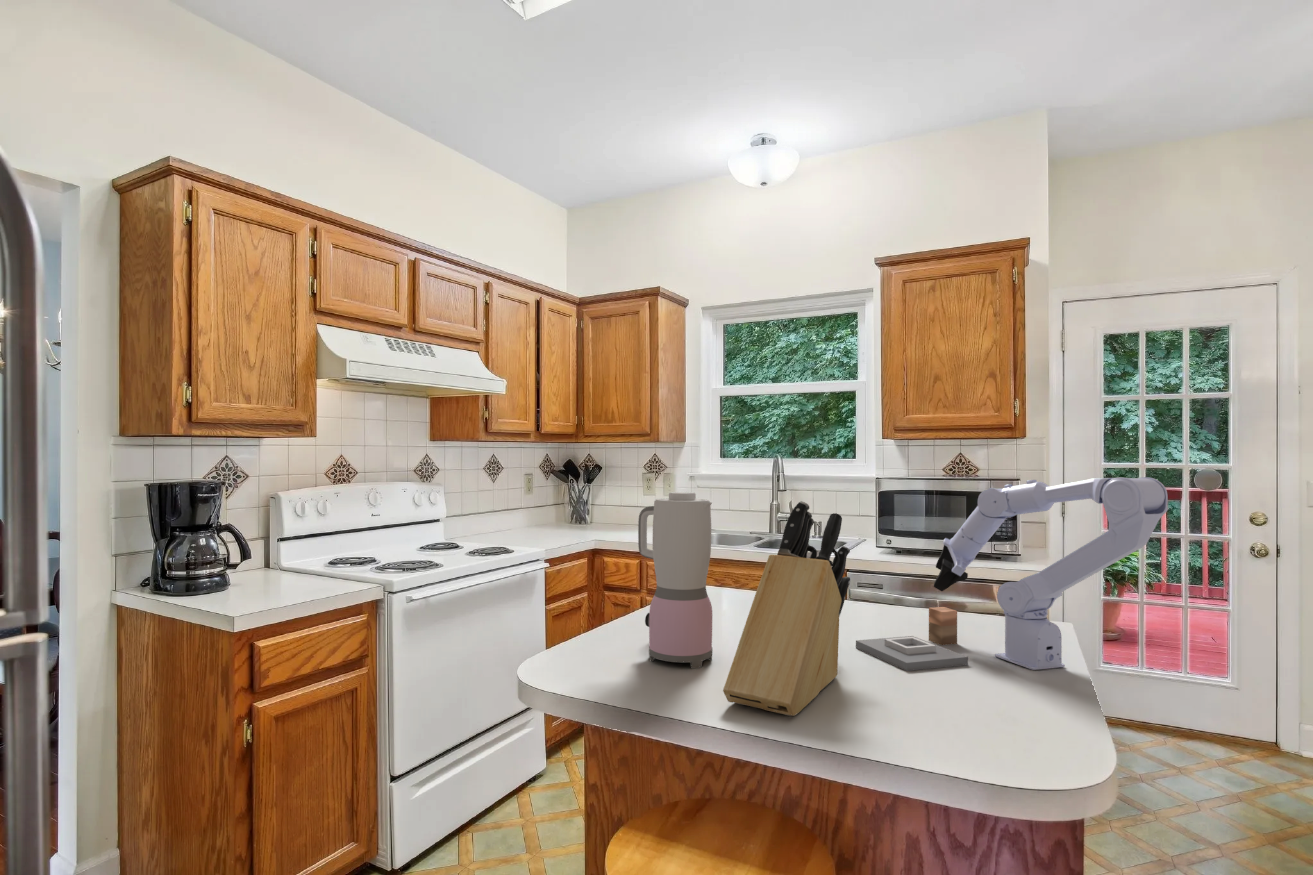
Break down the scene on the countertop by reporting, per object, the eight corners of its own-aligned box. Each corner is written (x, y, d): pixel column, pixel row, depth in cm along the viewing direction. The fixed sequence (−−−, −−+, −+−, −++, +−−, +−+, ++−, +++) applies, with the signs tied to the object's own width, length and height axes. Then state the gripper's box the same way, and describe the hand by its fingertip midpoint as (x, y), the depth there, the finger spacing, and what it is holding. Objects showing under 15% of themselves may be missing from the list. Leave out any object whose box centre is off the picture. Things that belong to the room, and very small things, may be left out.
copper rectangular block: (957, 643, 147) (957, 610, 147) (941, 645, 145) (941, 611, 145) (943, 639, 150) (944, 606, 151) (928, 640, 149) (928, 607, 149)
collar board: (967, 664, 131) (968, 650, 131) (906, 670, 127) (906, 656, 127) (912, 642, 147) (912, 630, 147) (855, 647, 142) (855, 634, 142)
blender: (722, 656, 135) (724, 492, 136) (697, 673, 124) (699, 495, 125) (651, 645, 142) (653, 489, 143) (621, 660, 131) (624, 492, 132)
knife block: (854, 664, 131) (855, 501, 131) (791, 725, 100) (793, 512, 101) (797, 655, 136) (798, 498, 137) (720, 710, 106) (723, 509, 107)
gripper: (957, 508, 152) (924, 551, 159) (954, 542, 140) (919, 587, 147) (987, 524, 150) (953, 567, 157) (987, 560, 138) (950, 604, 145)
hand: (938, 578), depth 152 cm, fingers open, 7 cm apart
